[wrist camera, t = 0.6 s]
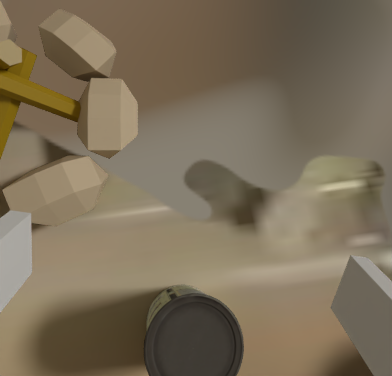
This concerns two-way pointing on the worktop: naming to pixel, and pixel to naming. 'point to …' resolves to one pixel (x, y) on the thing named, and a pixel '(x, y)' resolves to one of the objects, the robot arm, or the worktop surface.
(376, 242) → the worktop surface
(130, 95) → the campfire
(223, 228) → the worktop surface
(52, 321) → the worktop surface
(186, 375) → the coffee can
